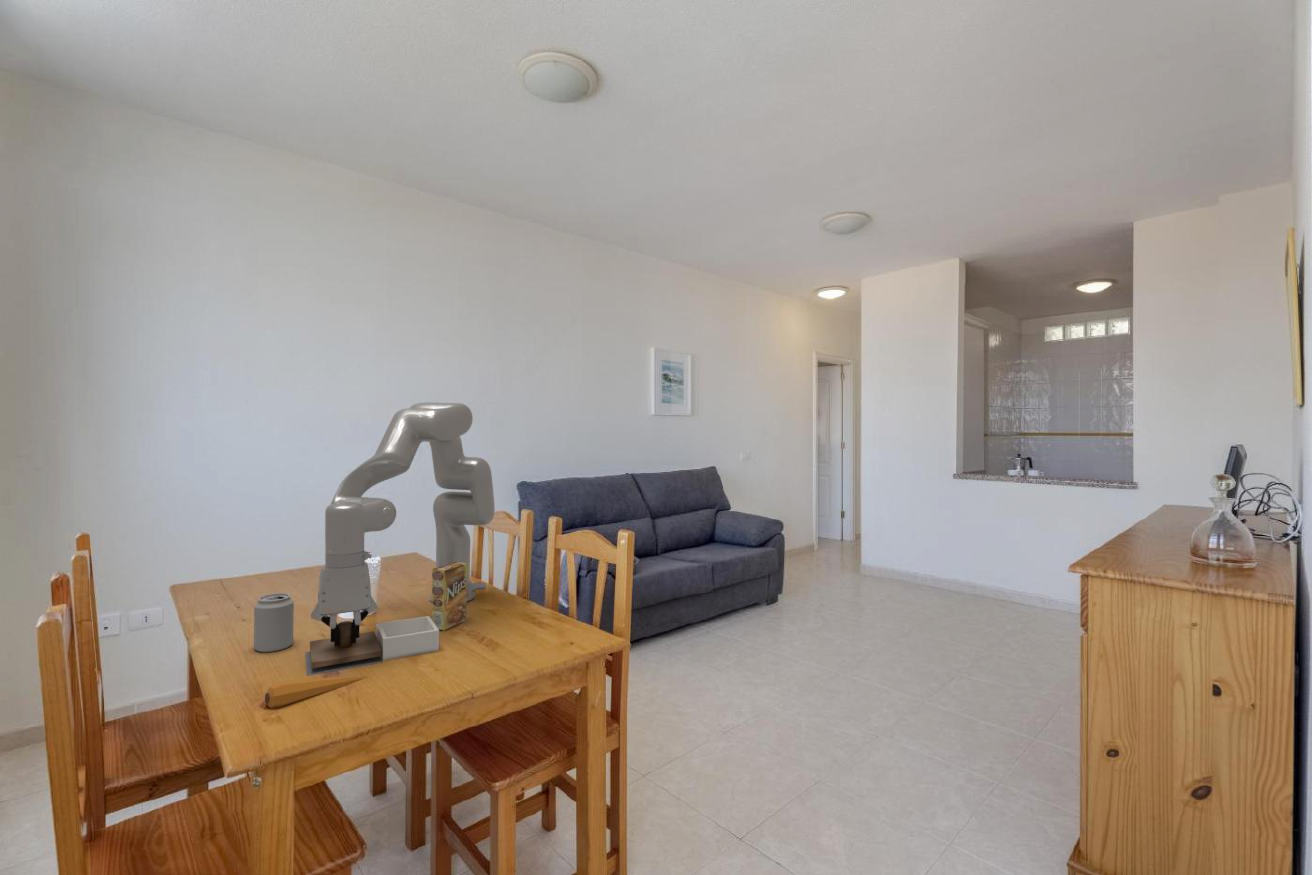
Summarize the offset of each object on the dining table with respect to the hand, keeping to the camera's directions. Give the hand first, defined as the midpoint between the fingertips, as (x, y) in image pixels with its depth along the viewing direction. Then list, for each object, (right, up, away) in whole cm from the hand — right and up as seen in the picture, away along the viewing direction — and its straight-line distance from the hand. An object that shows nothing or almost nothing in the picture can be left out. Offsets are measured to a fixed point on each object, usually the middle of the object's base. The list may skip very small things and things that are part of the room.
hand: (345, 642), depth 129 cm
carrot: (+5, -4, -16) cm, 17 cm away
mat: (0, -3, -1) cm, 4 cm away
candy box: (+15, -4, +23) cm, 27 cm away
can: (-19, -3, +5) cm, 19 cm away
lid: (0, -2, 0) cm, 2 cm away
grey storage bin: (+11, -4, +6) cm, 13 cm away
